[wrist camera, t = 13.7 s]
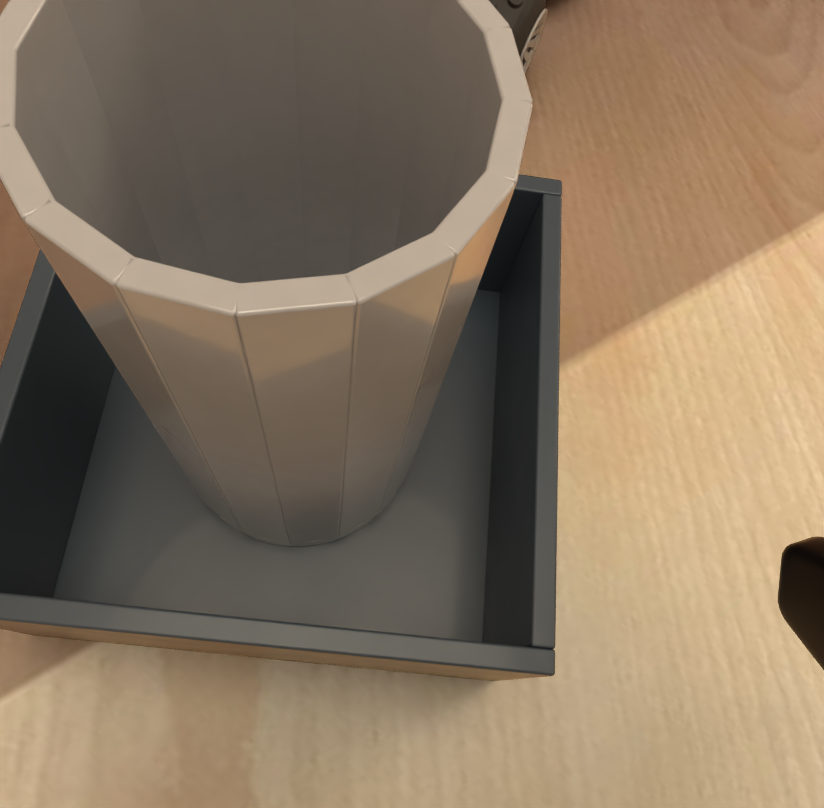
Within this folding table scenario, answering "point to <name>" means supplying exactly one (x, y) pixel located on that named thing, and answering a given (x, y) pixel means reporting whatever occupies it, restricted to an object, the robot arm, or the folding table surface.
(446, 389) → the open box
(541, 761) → the folding table surface
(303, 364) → the tumbler
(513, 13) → the toy vehicle
